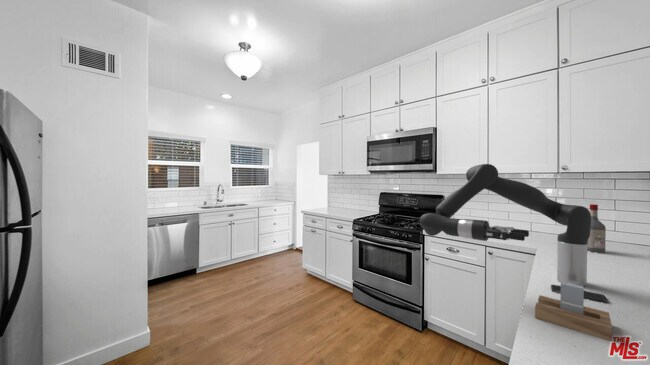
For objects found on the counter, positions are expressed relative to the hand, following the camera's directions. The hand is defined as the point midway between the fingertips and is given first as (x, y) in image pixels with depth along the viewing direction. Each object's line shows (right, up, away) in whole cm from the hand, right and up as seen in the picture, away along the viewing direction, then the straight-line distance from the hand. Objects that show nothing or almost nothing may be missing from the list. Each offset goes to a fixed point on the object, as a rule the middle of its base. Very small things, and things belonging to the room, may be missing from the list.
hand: (526, 235), depth 86 cm
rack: (+7, -25, -8) cm, 27 cm away
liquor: (+105, -27, +78) cm, 134 cm away
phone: (+29, -26, +12) cm, 40 cm away
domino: (+7, -25, -8) cm, 27 cm away
